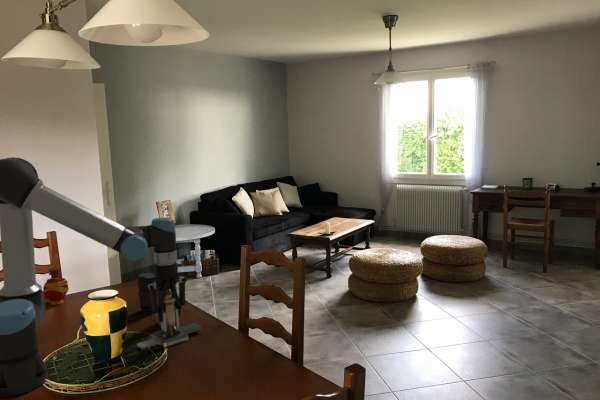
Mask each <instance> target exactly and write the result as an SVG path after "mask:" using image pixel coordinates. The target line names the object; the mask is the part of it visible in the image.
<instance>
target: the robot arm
mask: <svg viewBox="0 0 600 400" xmlns="http://www.w3.org/2000/svg"><path fill="white" fill-rule="evenodd" d="M33 212H35V213H37V214H40V215H41V216H43V217H45V218H48V219H50V221H51V220H52V221H54V222H56V223H58V224H60V225H61V226H64V227H66V228H69V229H70V230H73V231H74V232H77V233H79V234H80V235H83V236H85V237H87V238H89V239H90V240H93V241H95V242H97V243H98V244H101V245H104V246H105V247H107V248H109V249H111V250H113V251H115V252H116V253H119V254H121V255H122V256H123V258H125V259H126V260H128V261H131V262H136V261H139V260H142V259H143V258H144V257H145V256H146V254H147V251H148V249H150V248H153V260H154V273H155V276H156V278H155V281H154V282H153V283H152V284H148V285H147V287H148V289H149V291H150V299H151V308H152V311H153V312H154V314H155V313H158V321H159V322H161V326H160V329H161V330H163V331H167V329H166V314H165V312H163V309H164V301H163V300H165V294H166V290H168V289H169V290H170V293H171V295H172V296H173V297H176V301H175V317H176V327H177V328H178V327H179V328H180V321H179V319H180V317H181V309H182V307H184V306H186V282H187V278H186V277H185V276H180V275H179V268H178V267H179V266H178V262H177V261H178V253H177V252H178V250H177V233H176V232H177V231H176V225H175V220H174V219H173V218H172V217H167V216H166V217H164V216H163V217H162V216H161V217H155V218H152V220H151V224H149V225H139V226H138V225H137V226H124V225H122V224H120V223H118V222H117V221H115V220H112V219H110V218H108V217H106V216H104V215H102V214H100V213H99V212H97V211H95V210H92V209H90V208H89V207H87V206H85V205H83V204H81V203H79V202H78V201H75V200H73V199H72V198H69V197H67V196H65V195H64V194H61V193H60V192H58V191H55V190H53V189H52V188H50V187H48V186H46V185H44V183H43V180H42V179H41V178H39V174H38V171H37V168H36V167H35V166H34V164H33V163H31V162H29V161H28V160H26V159H23V158H21V157H6V158H1V159H0V243H1V244H0V245H1V246H0V247H1V248H0V249H1V261H2V265H1V266H2V279H3V287H2V288H0V398H11V397H16V396H20V395H23V394H25V393H28V392H30V391H33V390H35V389H37V388H39V387H41V386H42V385H44V383H45V382H46V381H45V379H47V380H48V377H49V374H48V368H47V366H46V364H45V362H44V360H43V359H42V357H41V354H40V353H39V344H38V335H37V333H38V327H39V325H40V322H41V321H42V319H43V318H44V316H45V312H46V301H45V299H44V297H43V289H42V287H43V286H42V285H41V284H40V283H38V282H37V278H36V277H37V274H36V261H35V243H34V239H35V238H34V227H33V226H34V224H33ZM177 283H178V289H177V286H176V285H177ZM156 285H157V286H158V287H159V297H158V305H157V297H156V290H155V289H156ZM44 381H45V382H44Z"/></svg>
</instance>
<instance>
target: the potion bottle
mask: <svg viewBox="0 0 600 400" xmlns="http://www.w3.org/2000/svg"><path fill="white" fill-rule="evenodd" d="M48 271H49V273H48V275H49V276H50V278H48V279H46V282H45V283H44V284H43V289H42V294H43V295H44V296H45V298H47V299H48V300H49V301H51V302H50V305H53V306H55V305H60V304H63V303H64V302H65V301H64V300H63V299H64V298H65V296H66V295H67V293H68V292H69V290H70V289H69V284H68V280H67V279H66V278H64V277H60V276H59V274H61V271H60V268H59V267H54V268H53V267H52V268H49V269H48Z"/></svg>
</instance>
